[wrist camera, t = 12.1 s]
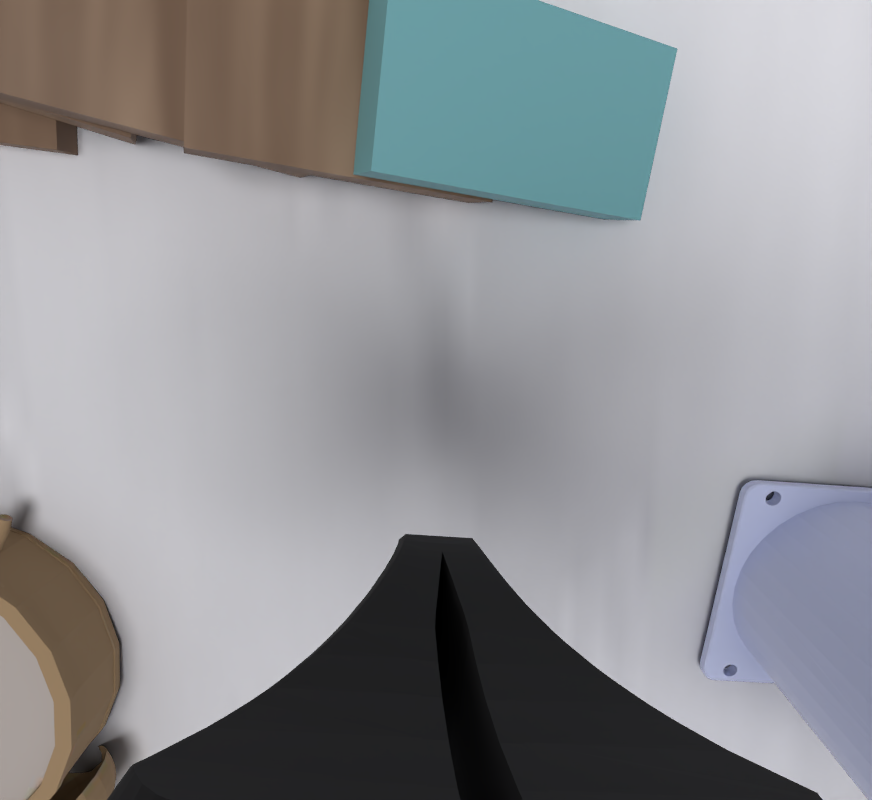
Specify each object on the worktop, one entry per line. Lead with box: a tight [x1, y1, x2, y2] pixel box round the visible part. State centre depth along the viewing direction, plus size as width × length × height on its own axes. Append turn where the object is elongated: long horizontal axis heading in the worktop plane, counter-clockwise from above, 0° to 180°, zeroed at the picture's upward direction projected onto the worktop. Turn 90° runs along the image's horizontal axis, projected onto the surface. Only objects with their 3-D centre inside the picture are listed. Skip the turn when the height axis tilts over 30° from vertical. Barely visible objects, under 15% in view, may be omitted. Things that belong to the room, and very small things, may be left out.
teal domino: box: [353, 0, 677, 220], centre depth 15 cm, size 2×4×8 cm
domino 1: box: [0, 0, 309, 178], centre depth 15 cm, size 2×4×8 cm
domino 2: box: [184, 0, 493, 203], centre depth 15 cm, size 2×4×8 cm
